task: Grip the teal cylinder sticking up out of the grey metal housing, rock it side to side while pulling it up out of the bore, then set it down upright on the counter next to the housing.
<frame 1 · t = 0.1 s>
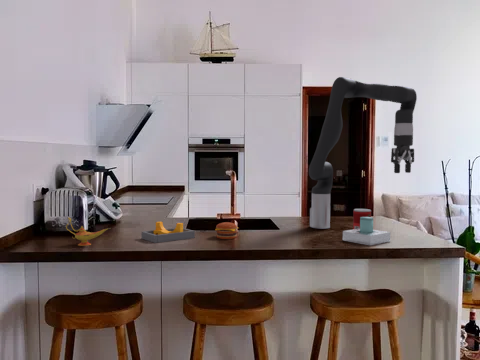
hand: (402, 172, 191), 29 cm above the countertop, tool pointing down, fingers open, 8 cm apart
pipe clamp: (168, 238, 196), on the countertop, touching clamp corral
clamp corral: (168, 238, 196), on the countertop
teal cylinder: (366, 229, 192), in the housing
canned food: (361, 233, 213), on the countertop
hamburger: (226, 237, 199), on the countertop
magic lamp: (88, 245, 181), on the countertop
housing: (366, 240, 192), on the countertop
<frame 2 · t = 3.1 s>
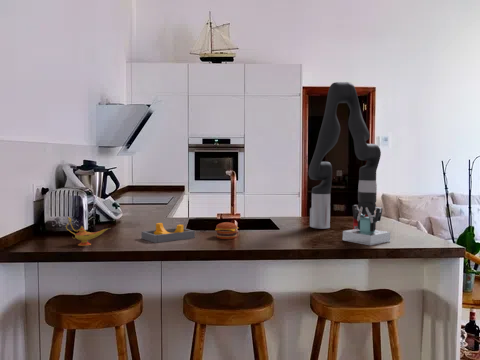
hand: (366, 230, 192), 5 cm above the countertop, tool pointing down, fingers closed on teal cylinder, 5 cm apart
pipe clamp: (168, 239, 195), on the countertop, touching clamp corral
teal cylinder: (366, 229, 192), in the housing, touching gripper
everything else where it was.
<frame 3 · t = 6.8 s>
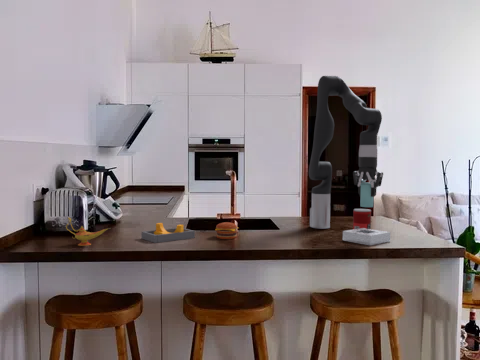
hand: (367, 195, 191), 19 cm above the countertop, tool pointing down, fingers closed on teal cylinder, 5 cm apart
teal cylinder: (367, 194, 191), point 20 cm above the countertop, touching gripper
everything else where it was.
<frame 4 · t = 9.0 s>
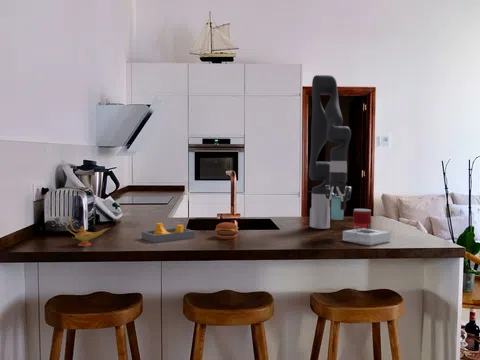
hand: (337, 209, 201), 12 cm above the countertop, tool pointing down, fingers closed on teal cylinder, 5 cm apart
teal cylinder: (337, 207, 201), point 13 cm above the countertop, touching gripper
everything else where it was.
when the fingers open (6 cm above the countertop, at t = 10.7 s): teal cylinder drops 1 cm, on the countertop.
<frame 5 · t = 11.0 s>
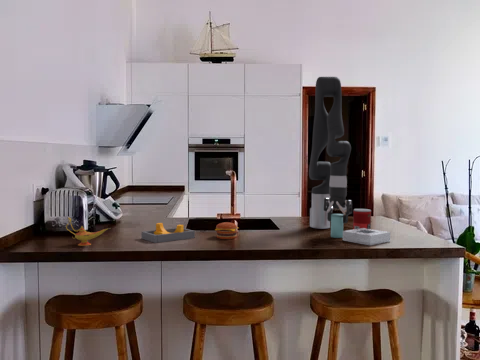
hand: (337, 222, 201), 7 cm above the countertop, tool pointing down, fingers open, 8 cm apart
teal cylinder: (337, 225, 201), on the countertop
everything else where it was.
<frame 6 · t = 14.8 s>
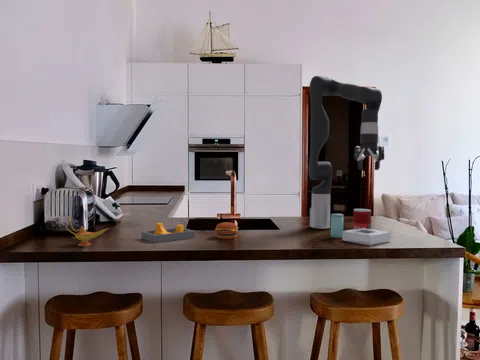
hand: (368, 169, 201), 30 cm above the countertop, tool pointing down, fingers open, 8 cm apart
nothing on the countertop moved.
at the end: teal cylinder inside the target area (0.1 cm from its centre), on the countertop; teal cylinder tilted 1°; teal cylinder touching countertop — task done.
